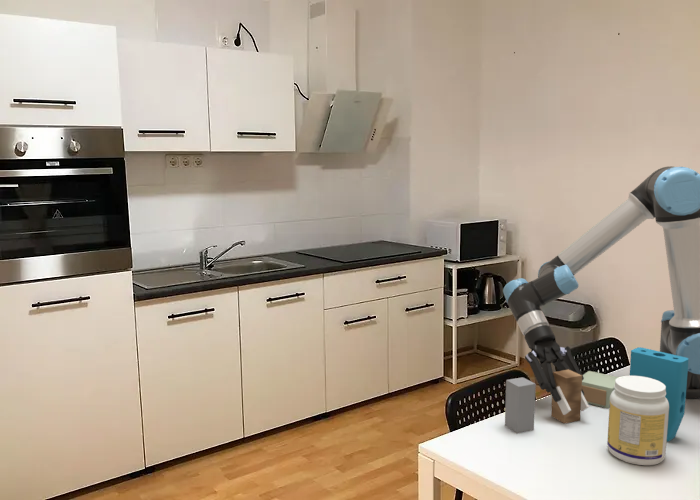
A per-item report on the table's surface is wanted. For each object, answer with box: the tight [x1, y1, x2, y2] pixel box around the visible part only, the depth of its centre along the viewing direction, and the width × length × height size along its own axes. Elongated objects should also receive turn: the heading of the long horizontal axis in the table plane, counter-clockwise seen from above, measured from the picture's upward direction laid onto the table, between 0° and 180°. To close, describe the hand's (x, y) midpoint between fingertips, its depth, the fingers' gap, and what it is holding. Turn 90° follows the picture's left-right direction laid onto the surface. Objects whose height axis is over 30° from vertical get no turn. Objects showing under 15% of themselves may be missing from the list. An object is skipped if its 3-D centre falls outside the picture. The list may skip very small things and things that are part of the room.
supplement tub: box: [606, 375, 669, 466], centre depth 141 cm, size 12×12×17 cm
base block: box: [582, 370, 618, 409], centre depth 174 cm, size 10×10×6 cm
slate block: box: [504, 377, 537, 434], centre depth 156 cm, size 5×5×12 cm
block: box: [629, 347, 689, 443], centre depth 152 cm, size 12×5×20 cm, turn 40°
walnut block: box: [550, 369, 583, 425], centre depth 162 cm, size 5×5×12 cm
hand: (576, 410), depth 158 cm, fingers closed on walnut block, 5 cm apart
